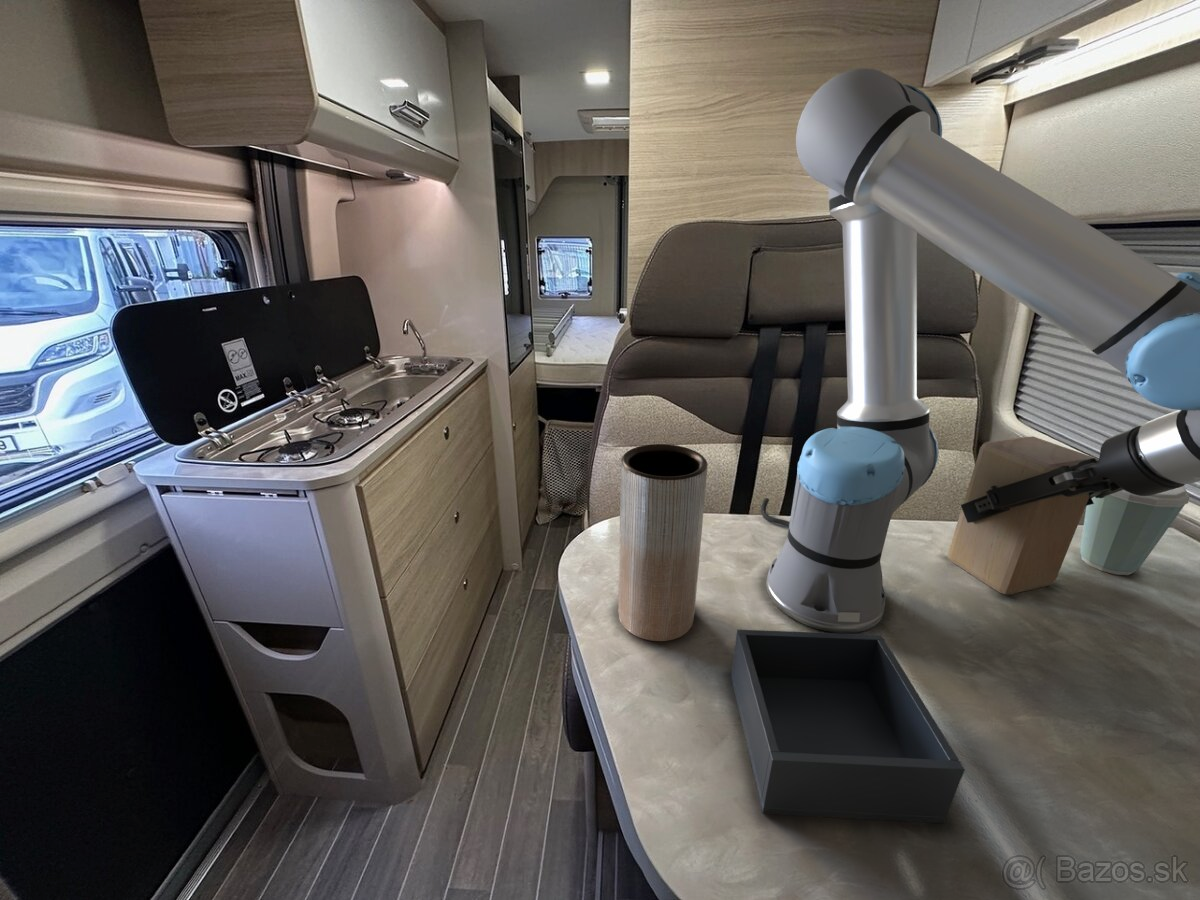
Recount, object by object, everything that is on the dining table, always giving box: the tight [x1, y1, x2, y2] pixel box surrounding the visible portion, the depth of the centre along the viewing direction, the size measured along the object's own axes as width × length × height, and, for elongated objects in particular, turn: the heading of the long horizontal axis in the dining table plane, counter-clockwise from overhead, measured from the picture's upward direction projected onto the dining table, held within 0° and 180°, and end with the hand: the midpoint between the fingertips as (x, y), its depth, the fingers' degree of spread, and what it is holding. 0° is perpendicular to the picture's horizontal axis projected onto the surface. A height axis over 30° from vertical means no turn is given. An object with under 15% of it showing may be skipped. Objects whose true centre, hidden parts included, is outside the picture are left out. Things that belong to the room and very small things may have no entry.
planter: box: [617, 443, 708, 642], centre depth 66 cm, size 10×10×23 cm
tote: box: [730, 629, 965, 824], centre depth 52 cm, size 16×16×7 cm
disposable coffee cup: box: [1079, 485, 1190, 576], centre depth 79 cm, size 11×11×15 cm
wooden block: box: [947, 435, 1099, 596], centre depth 76 cm, size 10×10×20 cm
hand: (998, 510), depth 79 cm, fingers closed on wooden block, 11 cm apart
